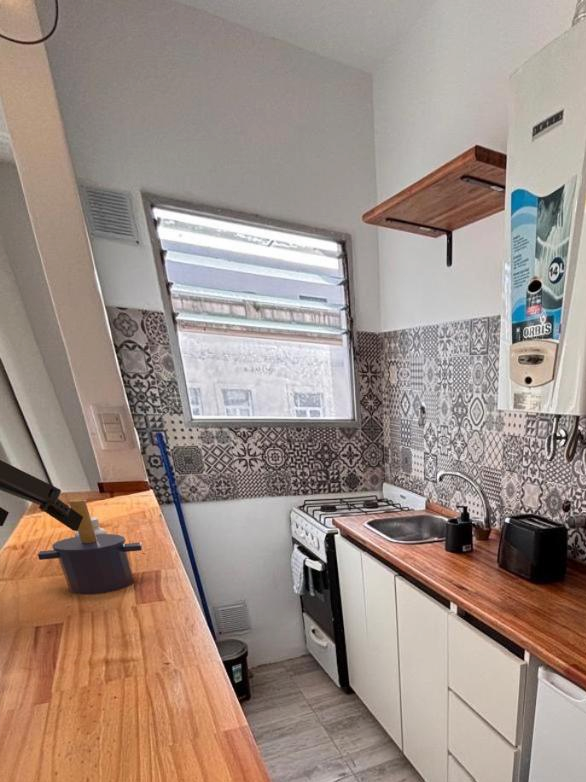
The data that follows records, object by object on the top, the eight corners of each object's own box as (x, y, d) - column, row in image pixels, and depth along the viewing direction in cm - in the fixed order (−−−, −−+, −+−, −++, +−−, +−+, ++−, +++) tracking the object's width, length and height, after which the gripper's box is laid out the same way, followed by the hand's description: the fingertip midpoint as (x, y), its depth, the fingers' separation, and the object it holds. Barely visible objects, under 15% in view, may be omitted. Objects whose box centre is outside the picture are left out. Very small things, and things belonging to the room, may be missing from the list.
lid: (59, 543, 97) (43, 496, 93) (127, 537, 102) (115, 493, 98) (49, 559, 89) (31, 508, 85) (124, 552, 94) (111, 503, 90)
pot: (57, 584, 99) (42, 541, 96) (151, 574, 106) (140, 534, 103) (48, 602, 91) (31, 556, 88) (150, 590, 98) (138, 546, 95)
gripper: (-205, 449, 65) (-37, 536, 85) (-29, 458, 63) (102, 545, 83) (-174, 403, 68) (-18, 498, 88) (-4, 409, 66) (117, 506, 86)
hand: (41, 521), depth 86 cm, fingers open, 13 cm apart
